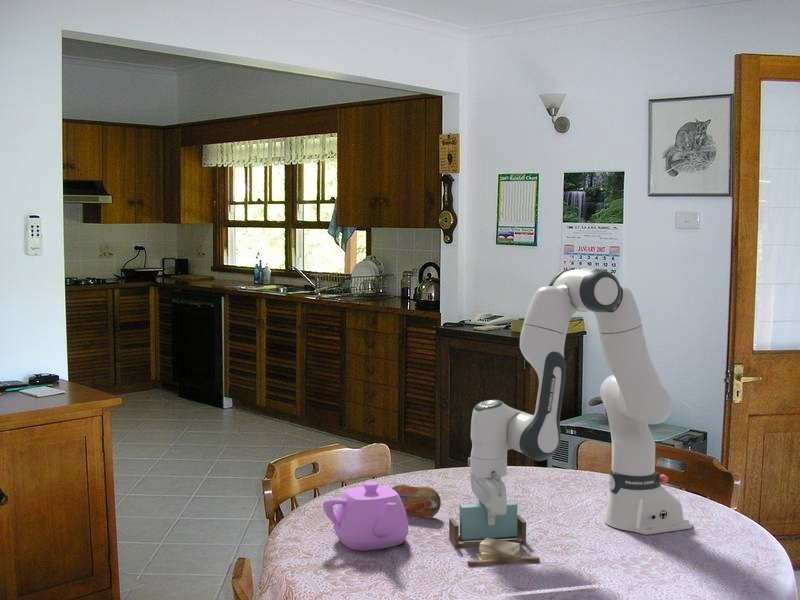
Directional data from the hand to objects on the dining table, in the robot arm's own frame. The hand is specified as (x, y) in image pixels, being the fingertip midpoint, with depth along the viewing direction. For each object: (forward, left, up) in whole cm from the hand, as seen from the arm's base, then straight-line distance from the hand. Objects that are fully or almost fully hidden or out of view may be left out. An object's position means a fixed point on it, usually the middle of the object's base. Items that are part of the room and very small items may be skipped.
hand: (488, 521), depth 218 cm
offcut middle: (0, +10, -5) cm, 11 cm away
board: (0, 0, -4) cm, 4 cm away
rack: (0, +5, -6) cm, 8 cm away
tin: (+14, -24, -6) cm, 29 cm away
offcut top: (0, +10, -3) cm, 11 cm away
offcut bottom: (0, +10, -6) cm, 12 cm away
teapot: (+28, -5, -6) cm, 29 cm away
